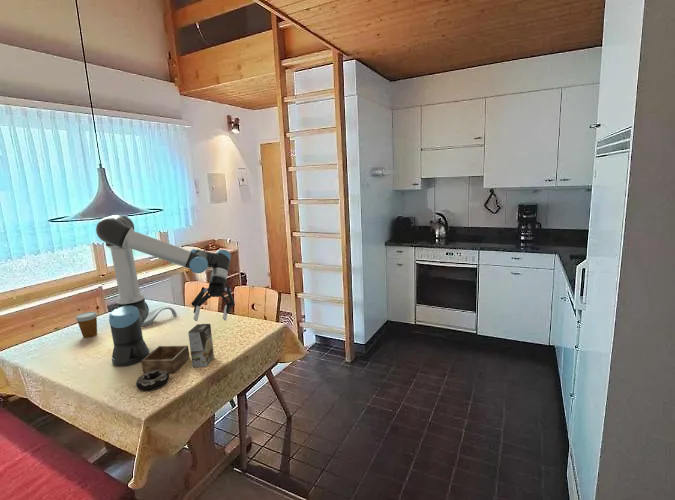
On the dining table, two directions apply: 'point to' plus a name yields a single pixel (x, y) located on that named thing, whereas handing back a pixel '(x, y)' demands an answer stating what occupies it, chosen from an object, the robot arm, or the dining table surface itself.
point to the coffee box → (201, 345)
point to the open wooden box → (166, 359)
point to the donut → (152, 380)
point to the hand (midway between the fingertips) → (209, 319)
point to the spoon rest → (154, 313)
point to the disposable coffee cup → (88, 324)
